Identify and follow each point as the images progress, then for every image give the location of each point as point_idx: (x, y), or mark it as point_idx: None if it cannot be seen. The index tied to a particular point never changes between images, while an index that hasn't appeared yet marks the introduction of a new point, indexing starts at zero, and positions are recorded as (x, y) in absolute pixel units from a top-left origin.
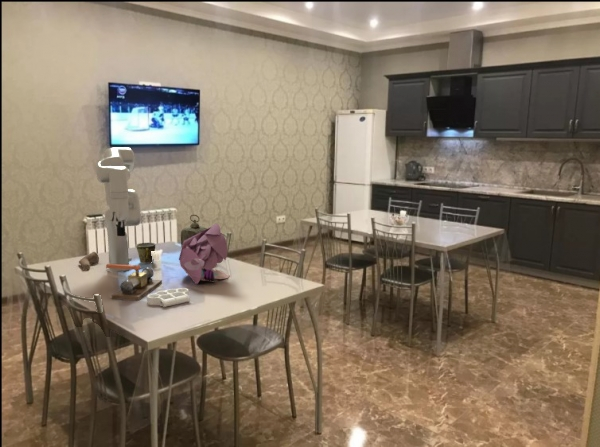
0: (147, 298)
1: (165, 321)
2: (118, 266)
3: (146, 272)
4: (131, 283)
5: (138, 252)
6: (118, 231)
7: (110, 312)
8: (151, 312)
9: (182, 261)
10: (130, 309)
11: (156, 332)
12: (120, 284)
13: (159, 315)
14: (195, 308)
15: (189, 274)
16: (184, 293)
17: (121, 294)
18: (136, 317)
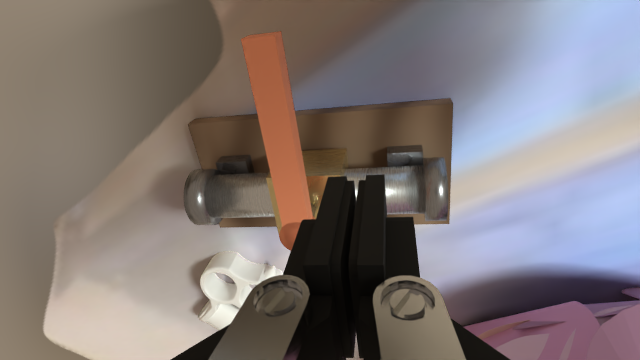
0: (205, 269)
1: (134, 334)
2: (264, 132)
3: (388, 213)
4: (209, 224)
5: None
6: (295, 252)
7: (95, 189)
8: (161, 290)
9: (569, 338)
10: (147, 232)
11: (78, 335)
12: (186, 181)
13: (155, 313)
14: None
15: (486, 332)
16: None
17: (213, 156)
18: (113, 270)
